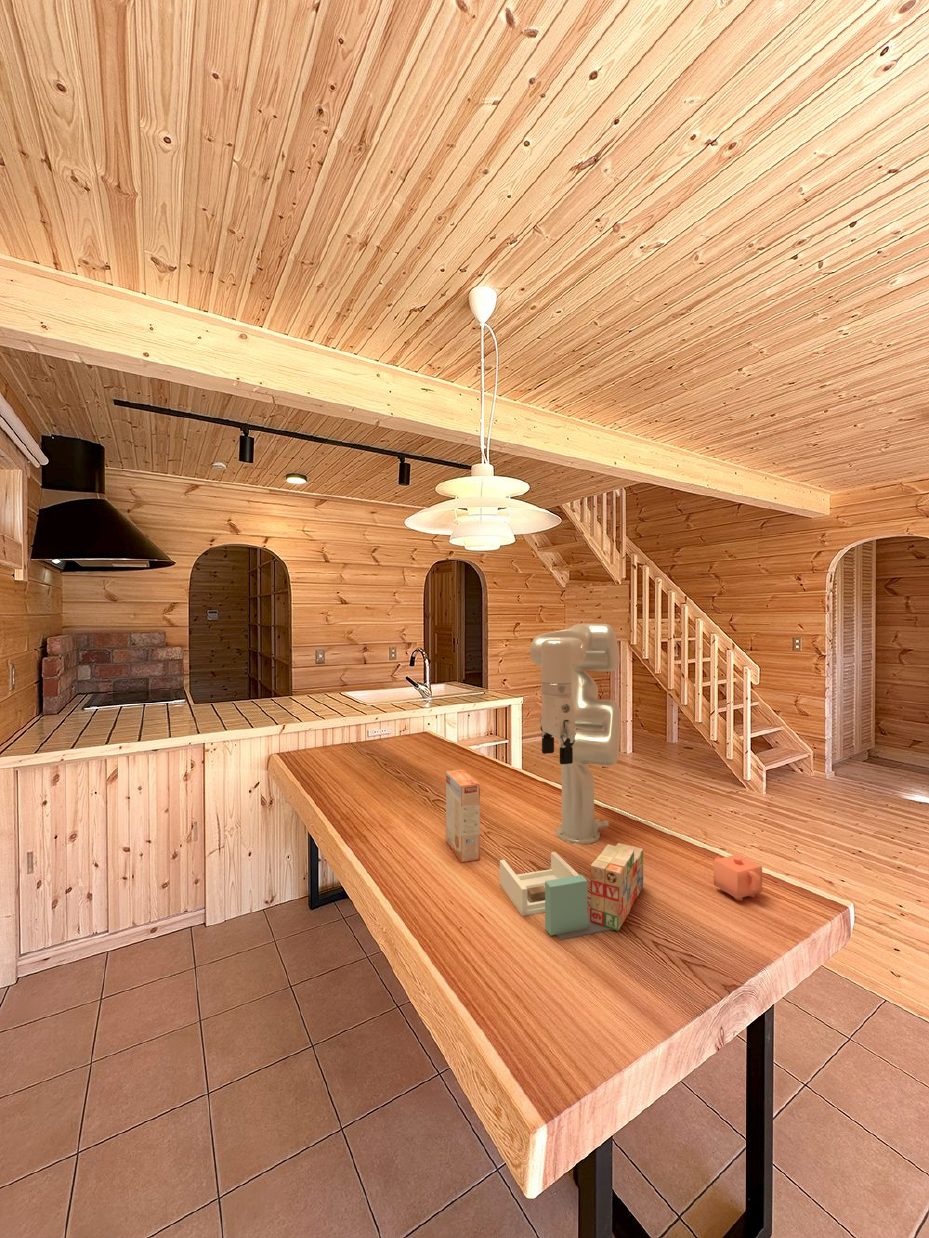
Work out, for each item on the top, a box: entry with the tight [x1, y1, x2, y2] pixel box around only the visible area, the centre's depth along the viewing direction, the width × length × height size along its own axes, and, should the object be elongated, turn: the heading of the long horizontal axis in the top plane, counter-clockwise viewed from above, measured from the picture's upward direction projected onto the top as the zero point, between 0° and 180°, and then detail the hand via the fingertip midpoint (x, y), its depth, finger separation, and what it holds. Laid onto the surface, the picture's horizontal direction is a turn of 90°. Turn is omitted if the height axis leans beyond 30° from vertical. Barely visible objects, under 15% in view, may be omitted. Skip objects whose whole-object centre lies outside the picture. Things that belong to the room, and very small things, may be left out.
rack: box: [499, 851, 580, 917], centre depth 122 cm, size 15×14×6 cm
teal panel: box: [544, 874, 589, 937], centre depth 108 cm, size 10×2×8 cm
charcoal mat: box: [556, 913, 614, 941], centre depth 110 cm, size 13×6×1 cm, turn 107°
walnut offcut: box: [527, 886, 545, 903], centre depth 118 cm, size 4×2×2 cm, turn 107°
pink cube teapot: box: [713, 854, 763, 902], centre depth 123 cm, size 8×12×8 cm, turn 21°
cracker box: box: [445, 769, 481, 864], centre depth 145 cm, size 14×6×21 cm, turn 18°
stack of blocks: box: [589, 842, 644, 932], centre depth 118 cm, size 21×6×12 cm, turn 148°
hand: (556, 758), depth 129 cm, fingers open, 9 cm apart
